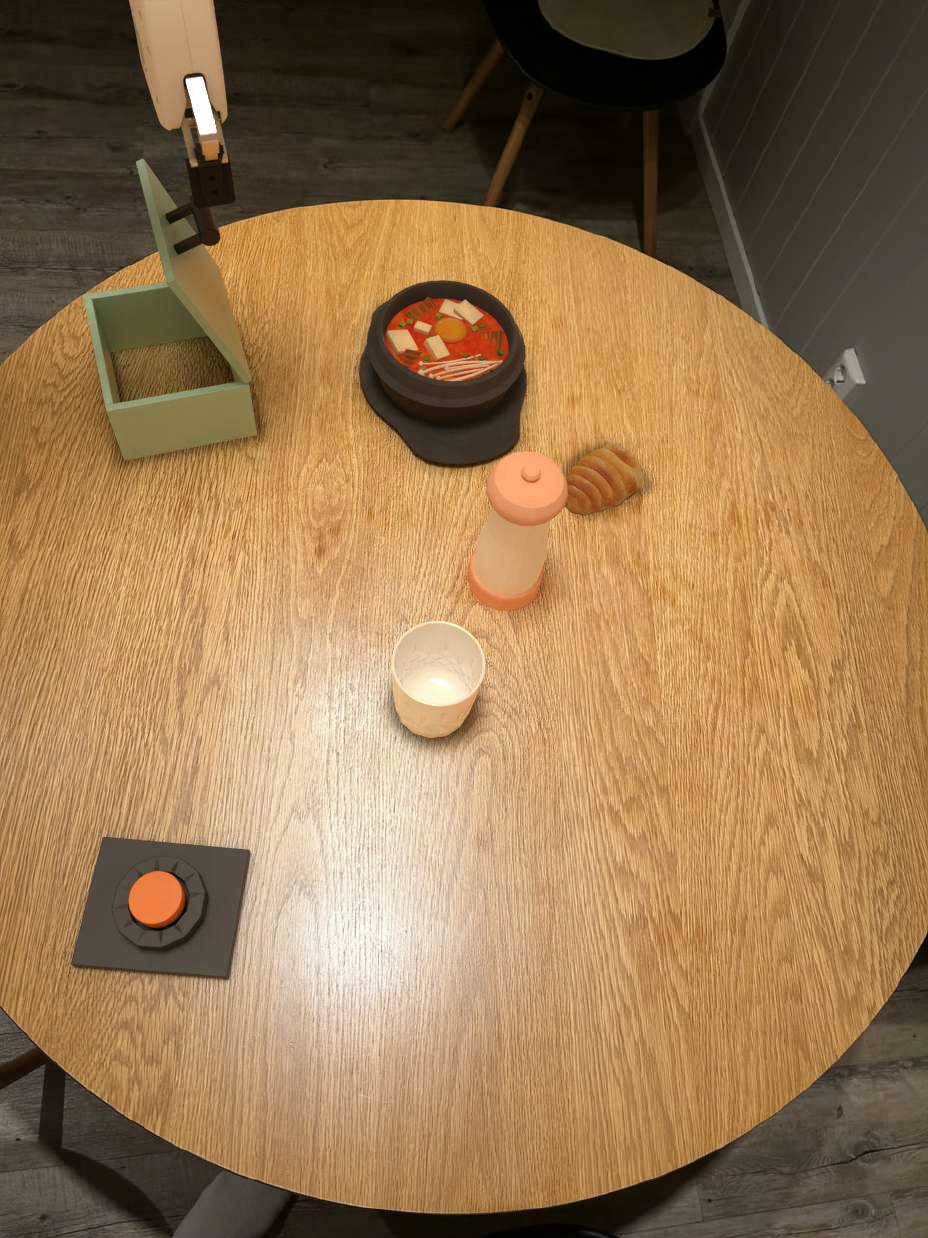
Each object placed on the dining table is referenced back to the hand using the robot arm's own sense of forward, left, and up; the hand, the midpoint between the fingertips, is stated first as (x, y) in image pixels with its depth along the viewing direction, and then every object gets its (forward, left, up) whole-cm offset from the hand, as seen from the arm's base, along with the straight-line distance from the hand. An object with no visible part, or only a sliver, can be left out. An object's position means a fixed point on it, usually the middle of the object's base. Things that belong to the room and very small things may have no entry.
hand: (201, 162), depth 75 cm
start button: (+3, -53, -26) cm, 59 cm away
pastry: (+39, -6, -30) cm, 49 cm away
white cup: (+23, -33, -30) cm, 50 cm away
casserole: (+21, +6, -30) cm, 37 cm away
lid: (-3, +2, -14) cm, 14 cm away
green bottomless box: (-7, 0, -30) cm, 30 cm away
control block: (+3, -53, -30) cm, 61 cm away
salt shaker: (+29, -19, -30) cm, 46 cm away
